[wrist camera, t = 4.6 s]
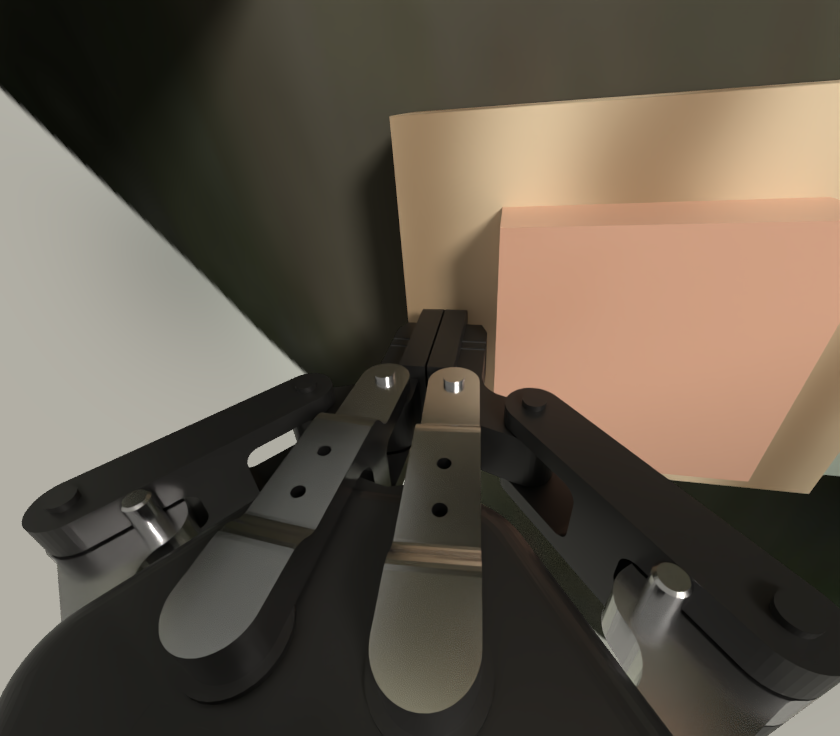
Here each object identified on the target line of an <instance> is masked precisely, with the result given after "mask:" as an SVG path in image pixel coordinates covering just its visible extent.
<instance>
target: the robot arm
mask: <svg viewBox="0 0 840 736" xmlns="http://www.w3.org/2000/svg"><path fill="white" fill-rule="evenodd" d="M486 354H487V332H486V330H485V329H484V327H483V326H482V325H472V324H468V312H467V310H449V309H446V310H444V309H423V310H422V312H421V314H420V317H419V319H418V321H417V323H413V322H407V323H406V324H405V325H403V326H402V327H400V328H399V329H398V330H397V332H396V334H395V336H394V339H393V340H392V342H391V344H390V346H389V348H388V350H387V352H386V354H385V356H384V358H383V360H382V362H381V364H379V365H376V366H373V367H371V368H369V369H367V370H366V371H365V372H364V373H363V374H362V375H361V377H360V378H359V380H358V381H357V383H356V384H354V385H348V386H341V387H333V384H332V381H331V379H330V378H329V377H328V376H326V375H324V374H320V373H309V374H304V375H300V376H298V377H295V378H293V379H291V380H289V381H286V382H284V383H282V384H280V385H278V386H275V387H273V388H271V389H269V390H267V391H264V392H262V393H260V394H258V395H256V396H253V397H251V398H249V399H247V400H245V401H242V402H240V403H238V404H236V405H234V406H231V407H229V408H227V409H225V410H223V411H220V412H218V413H216V414H214V415H211V416H209V417H207V418H205V419H203V420H201V421H198V422H196V423H194V424H192V425H189V426H187V427H185V428H183V429H180V430H178V431H176V432H174V433H172V434H170V435H167V436H165V437H163V438H160V439H158V440H156V441H154V442H152V443H150V444H147V445H145V446H143V447H141V448H138V449H136V450H134V451H132V452H130V453H127V454H125V455H123V456H121V457H119V458H116V459H114V460H112V461H110V462H107V463H105V464H103V465H101V466H99V467H96V468H94V469H92V470H90V471H88V472H86V473H83V474H81V475H79V476H77V477H74V478H72V479H70V480H68V481H66V482H63V483H61V484H59V485H57V486H55V487H54V488H52V489H50V490H49V491H47V492H46V493H44V494H43V495H42V496H40V497H39V498H38V499H37V500H36V501H34V502H33V504H32V505H31V506H30V507H29V508H28V509H27V511H26V512H25V514H24V516H23V519H22V526H23V528H24V529H25V530H26V531H27V532H28V533H29V534H30V535H31V536H32V537H33V538H34V539H35V540H36V541H37V542H38V543H39V544H40V545H41V546H42V547H43V548H44V549H45V550H46V553H47V555H48V556H49V557H50V558H51V559H52V560H53V561H54V562H55V563H56V564H57V569H58V583H59V595H60V610H61V623H60V624H58V625H57V626H56V627H55V628H54V629H53V630H52V631H51V632H49V633H48V634H47V635H46V636H45V637H44V638H43V639H42V640H41V641H40V642H39V643H38V644H37V645H36V646H35V648H34V649H33V650H32V651H31V652H30V653H29V655H28V656H27V657H26V658H25V660H24V661H23V662H22V663H21V665H20V666H19V668H18V669H17V670H16V672H15V673H14V674H13V676H12V677H11V679H10V681H9V683H8V684H7V686H6V688H5V689H4V691H3V693H2V695H1V697H0V736H768V735H769V734H770V733H772V732H773V731H775V730H776V729H777V728H779V727H780V726H781V725H783V724H784V723H785V722H787V721H788V720H789V719H791V718H792V717H794V716H795V715H796V714H798V713H799V712H800V711H802V710H803V709H804V708H805V707H807V706H808V705H810V704H811V703H812V702H814V701H815V700H817V699H818V698H819V697H821V696H822V695H823V694H825V693H826V692H827V691H829V690H830V689H831V688H833V687H834V686H836V685H837V684H838V683H839V682H840V609H839V608H838V607H837V606H836V605H835V604H834V603H833V602H832V601H831V600H829V599H828V598H827V597H826V596H824V595H823V594H822V593H821V592H819V591H818V590H817V589H815V588H814V587H813V586H811V585H810V584H809V583H807V582H806V581H805V580H803V579H802V578H801V577H799V576H798V575H796V574H795V573H794V572H792V571H791V570H790V569H788V568H787V567H786V566H784V565H783V564H782V563H780V562H779V561H778V560H776V559H775V558H774V557H772V556H771V555H770V554H768V553H767V552H766V551H764V550H763V549H761V548H760V547H759V546H757V545H756V544H755V543H753V542H752V541H751V540H749V539H748V538H747V537H745V536H744V535H743V534H741V533H740V532H739V531H737V530H736V529H735V528H733V527H732V526H731V525H729V524H728V523H727V522H725V521H724V520H722V519H721V518H720V517H718V516H717V515H716V514H714V513H713V512H712V511H710V510H709V509H708V508H706V507H705V506H704V505H702V504H701V503H700V502H698V501H697V500H696V499H694V498H693V497H692V496H690V495H689V494H687V493H686V492H685V491H683V490H682V489H681V488H679V487H678V486H677V485H675V484H674V483H673V482H671V481H670V480H669V479H667V478H666V477H665V476H663V475H662V474H661V473H659V472H658V471H657V470H655V469H654V468H653V467H651V466H650V465H648V464H647V463H646V462H644V461H643V460H642V459H640V458H639V457H638V456H636V455H635V454H634V453H632V452H631V451H630V450H628V449H627V448H626V447H624V446H623V445H622V444H620V443H619V442H618V441H616V440H615V439H613V438H612V437H611V436H609V435H608V434H607V433H605V432H604V431H603V430H601V429H600V428H599V427H597V426H596V425H595V424H593V423H592V422H591V421H589V420H588V419H587V418H585V417H584V416H583V415H581V414H580V413H578V412H577V411H576V410H574V409H573V408H572V407H570V406H569V405H568V404H566V403H565V402H564V401H562V400H561V399H560V398H558V397H557V396H556V395H554V394H552V393H551V392H548V391H546V390H543V389H538V388H522V389H518V390H515V391H513V392H512V393H510V394H509V395H508V396H507V397H505V396H502V395H499V394H496V393H494V392H492V391H491V390H489V389H488V388H487V387H486V386H485V385H484V384H485V374H486ZM292 429H293V431H294V434H295V437H296V440H297V443H296V444H295V445H293V446H291V447H289V448H288V449H286V450H284V451H282V452H280V453H279V454H277V455H275V456H273V457H271V458H269V459H267V460H266V461H264V462H262V463H260V464H258V465H256V466H254V467H250V468H249V467H248V464H247V460H248V457H249V455H250V454H251V453H252V452H253V451H254V450H255V449H256V448H258V447H260V446H262V445H264V444H266V443H267V442H269V441H271V440H273V439H275V438H277V437H279V436H281V435H283V434H285V433H287V432H289V431H290V430H292ZM481 470H483V471H485V472H488V473H490V474H493V475H495V476H498V477H500V483H501V486H502V487H503V489H504V490H505V491H506V493H507V494H508V495H509V496H510V497H511V498H512V499H513V501H514V502H515V503H516V504H517V505H518V506H519V508H520V509H521V510H522V511H523V512H524V513H525V515H526V516H527V517H528V518H529V519H530V520H531V521H532V523H533V524H534V525H535V526H536V527H537V528H538V530H539V531H540V532H541V533H542V534H543V535H544V537H545V538H546V539H547V540H548V541H549V542H550V543H551V545H552V546H553V547H554V548H555V549H556V550H557V552H558V553H559V554H560V555H561V556H562V557H563V559H564V560H565V561H566V562H567V563H568V564H569V565H570V567H571V568H572V569H573V570H574V571H575V572H576V574H577V575H578V576H579V577H580V578H581V579H582V581H583V582H584V583H585V584H586V585H587V586H588V587H589V589H590V590H591V591H592V592H593V593H594V594H595V596H596V597H597V598H598V599H599V600H600V601H601V603H602V604H603V605H604V609H603V611H602V629H603V632H604V635H605V638H606V640H607V642H608V644H609V646H610V647H611V649H612V650H613V652H614V653H615V655H616V657H617V658H618V660H619V662H620V664H621V666H622V667H621V666H620V665H619V663H618V662H617V661H616V659H615V658H614V657H613V655H612V654H611V653H610V651H609V650H608V649H607V648H606V646H605V645H604V643H603V642H602V641H601V639H600V638H599V637H598V635H597V634H596V633H595V631H594V630H593V629H592V628H591V626H590V625H589V624H588V622H587V621H586V620H585V618H584V617H583V616H582V614H581V613H580V612H579V610H578V609H577V608H576V606H575V605H574V604H573V602H572V601H571V600H570V598H569V597H568V596H567V594H566V593H565V592H564V590H563V589H562V588H561V587H560V585H559V584H558V583H557V581H556V580H555V579H554V577H553V576H552V575H551V573H550V572H549V571H548V569H547V568H546V567H545V565H544V564H543V563H542V561H541V560H540V559H539V557H538V556H537V555H536V553H535V552H534V551H533V550H532V548H531V547H530V546H529V544H528V543H527V542H526V540H525V539H524V538H523V536H522V535H521V534H520V533H519V531H518V530H517V529H516V528H515V527H514V526H513V525H512V524H511V523H510V522H509V521H507V520H506V519H505V518H504V517H502V516H501V515H500V514H498V513H497V512H495V511H494V510H492V509H490V508H488V507H486V506H484V505H482V504H481ZM404 480H405V482H404ZM403 482H404V485H403Z"/></svg>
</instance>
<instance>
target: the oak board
mask: <svg viewBox="0 0 840 736" xmlns="http://www.w3.org/2000/svg"><path fill="white" fill-rule="evenodd" d="M390 127H391V137H392V148H393V159H394V170H395V181H396V191H397V202H398V213H399V224H400V235H401V245H402V256H403V267H404V278H405V288H406V299H407V310H408V321H409V322H413V323H417V321H418V319H419V317H420V314H421V312H422V310H423V309H444V310H446V309H449V310H467V312H468V324H472V325H482V326H483V327H484V329H485V330H486V332H487V354H486V374H485V384H484V385H485V386H486V387H487V388H488V389H489V390H491V391H492V392H494V376H495V350H496V324H497V297H498V271H499V245H500V225H501V217H502V208H503V207H526V206H558V205H589V204H621V203H653V202H684V201H716V200H748V199H779V198H811V197H833V198H836V199H839V200H840V80H834V81H821V82H807V83H794V84H781V85H768V86H754V87H741V88H728V89H714V90H701V91H688V92H675V93H661V94H648V95H635V96H622V97H608V98H595V99H582V100H569V101H555V102H542V103H529V104H515V105H502V106H489V107H476V108H462V109H449V110H436V111H423V112H411V113H406V114H400V115H395V116H390ZM839 452H840V323H839V325H838V327H837V328H836V330H835V332H834V334H833V335H832V337H831V339H830V341H829V342H828V344H827V346H826V348H825V349H824V351H823V353H822V355H821V356H820V358H819V360H818V361H817V363H816V365H815V367H814V368H813V370H812V372H811V374H810V375H809V377H808V379H807V381H806V382H805V384H804V386H803V387H802V389H801V391H800V393H799V394H798V396H797V398H796V400H795V401H794V403H793V405H792V407H791V408H790V410H789V412H788V413H787V415H786V417H785V419H784V420H783V422H782V424H781V426H780V427H779V429H778V431H777V433H776V434H775V436H774V438H773V439H772V441H771V443H770V445H769V446H768V448H767V450H766V452H765V453H764V455H763V457H762V459H761V460H760V462H759V464H758V465H757V467H756V469H755V471H754V472H753V474H752V476H751V478H750V479H749V481H748V482H746V481H735V480H724V479H714V478H703V477H692V476H682V475H671V474H662V475H663V476H665V477H666V478H667V479H669V480H676V481H686V482H696V483H706V484H716V485H726V486H736V487H746V488H756V489H765V490H775V491H785V492H795V493H805V494H809V493H810V492H811V490H812V489H813V488H814V486H815V485H816V484H817V482H818V481H819V479H820V478H821V477H822V475H823V474H824V473H825V471H826V470H827V469H828V467H829V466H830V464H831V463H832V462H833V460H834V459H835V458H836V456H837V455H838V454H839Z"/></svg>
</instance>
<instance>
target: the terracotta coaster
mask: <svg viewBox="0 0 840 736" xmlns="http://www.w3.org/2000/svg"><path fill="white" fill-rule="evenodd" d="M839 323H840V200H839V199H836V198H833V197H811V198H779V199H748V200H716V201H684V202H653V203H621V204H589V205H558V206H526V207H503V208H502V217H501V225H500V245H499V271H498V297H497V324H496V350H495V376H494V393H496V394H499V395H502V396H505V397H507V396H508V395H509V394H510V393H512V392H513V391H515V390H518V389H522V388H538V389H543V390H546V391H548V392H551V393H552V394H554V395H556V396H557V397H558V398H560V399H561V400H562V401H564V402H565V403H566V404H568V405H569V406H570V407H572V408H573V409H574V410H576V411H577V412H578V413H580V414H581V415H583V416H584V417H585V418H587V419H588V420H589V421H591V422H592V423H593V424H595V425H596V426H597V427H599V428H600V429H601V430H603V431H604V432H605V433H607V434H608V435H609V436H611V437H612V438H613V439H615V440H616V441H618V442H619V443H620V444H622V445H623V446H624V447H626V448H627V449H628V450H630V451H631V452H632V453H634V454H635V455H636V456H638V457H639V458H640V459H642V460H643V461H644V462H646V463H647V464H648V465H650V466H651V467H653V468H654V469H655V470H657V471H658V472H659V473H661V474H671V475H682V476H692V477H703V478H714V479H724V480H735V481H746V482H748V481H749V479H750V478H751V476H752V474H753V472H754V471H755V469H756V467H757V465H758V464H759V462H760V460H761V459H762V457H763V455H764V453H765V452H766V450H767V448H768V446H769V445H770V443H771V441H772V439H773V438H774V436H775V434H776V433H777V431H778V429H779V427H780V426H781V424H782V422H783V420H784V419H785V417H786V415H787V413H788V412H789V410H790V408H791V407H792V405H793V403H794V401H795V400H796V398H797V396H798V394H799V393H800V391H801V389H802V387H803V386H804V384H805V382H806V381H807V379H808V377H809V375H810V374H811V372H812V370H813V368H814V367H815V365H816V363H817V361H818V360H819V358H820V356H821V355H822V353H823V351H824V349H825V348H826V346H827V344H828V342H829V341H830V339H831V337H832V335H833V334H834V332H835V330H836V328H837V327H838V325H839Z"/></svg>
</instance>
